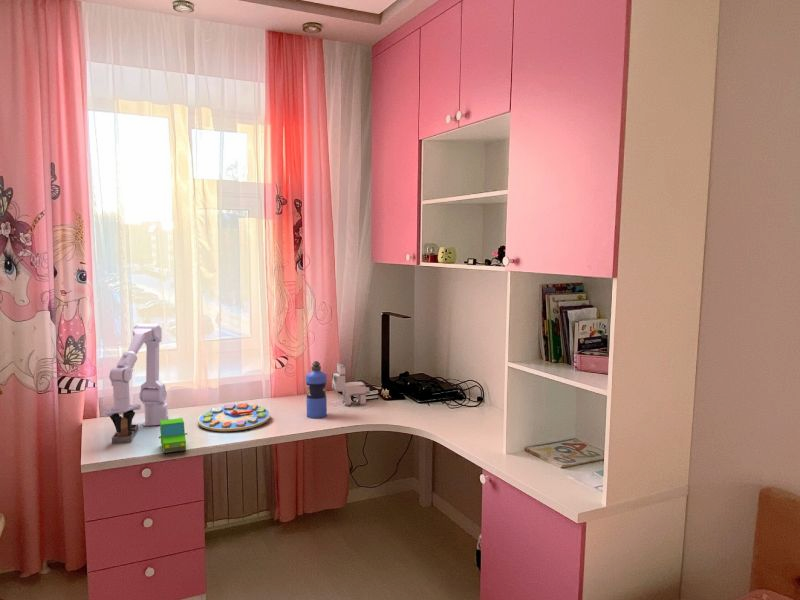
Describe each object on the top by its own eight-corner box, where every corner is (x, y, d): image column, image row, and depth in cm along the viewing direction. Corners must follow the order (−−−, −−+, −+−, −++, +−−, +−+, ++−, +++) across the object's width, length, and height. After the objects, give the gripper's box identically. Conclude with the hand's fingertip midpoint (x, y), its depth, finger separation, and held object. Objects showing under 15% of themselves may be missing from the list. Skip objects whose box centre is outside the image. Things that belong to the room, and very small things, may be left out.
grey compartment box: (138, 429, 255) (137, 410, 254) (131, 442, 239) (130, 421, 238) (120, 431, 253) (119, 411, 253) (111, 443, 237) (111, 423, 236)
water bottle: (325, 412, 282) (324, 359, 280) (328, 417, 273) (327, 363, 271) (305, 413, 279) (304, 360, 277) (307, 419, 270) (306, 364, 268)
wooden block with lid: (128, 435, 242) (127, 418, 241) (120, 437, 239) (120, 419, 239) (123, 433, 244) (122, 416, 243) (116, 435, 241) (115, 418, 241)
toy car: (160, 456, 223) (159, 430, 222) (158, 446, 235) (157, 420, 234) (189, 452, 227) (188, 426, 226) (185, 442, 239) (185, 417, 238)
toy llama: (370, 404, 296) (370, 364, 294) (335, 407, 291) (334, 366, 289) (367, 400, 303) (367, 361, 301) (332, 403, 298) (332, 363, 296)
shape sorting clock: (186, 433, 252) (186, 419, 251) (212, 413, 282) (212, 400, 282) (259, 434, 250) (259, 419, 250) (277, 413, 281) (277, 401, 280)
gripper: (133, 392, 248) (134, 424, 249) (98, 399, 236) (99, 433, 237) (143, 394, 244) (144, 427, 245) (107, 402, 232) (109, 436, 233)
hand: (122, 430), depth 241 cm, fingers closed on wooden block with lid, 3 cm apart
